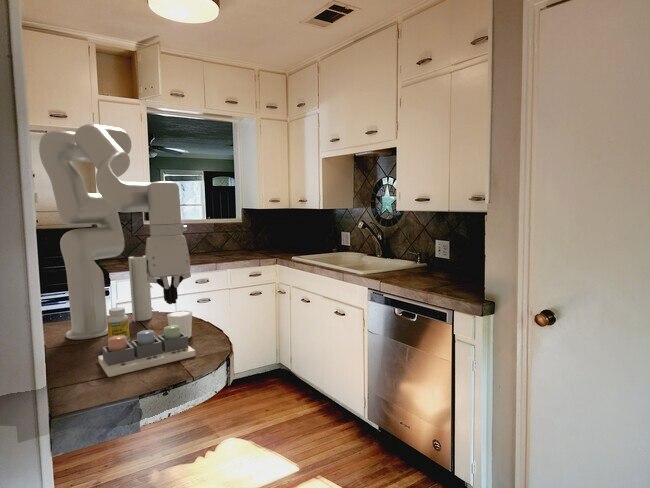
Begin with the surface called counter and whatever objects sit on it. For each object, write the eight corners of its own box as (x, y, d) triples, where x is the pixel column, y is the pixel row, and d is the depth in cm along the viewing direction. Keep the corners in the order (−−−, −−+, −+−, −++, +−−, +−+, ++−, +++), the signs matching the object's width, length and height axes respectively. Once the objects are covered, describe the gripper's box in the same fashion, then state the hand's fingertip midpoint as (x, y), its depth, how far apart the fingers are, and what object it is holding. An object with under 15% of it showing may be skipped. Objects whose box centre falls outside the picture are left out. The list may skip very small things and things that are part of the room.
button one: (107, 351, 104) (106, 337, 103) (125, 348, 106) (124, 334, 106) (110, 356, 100) (109, 341, 100) (129, 352, 103) (128, 338, 102)
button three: (162, 340, 111) (161, 327, 111) (178, 337, 114) (177, 324, 113) (167, 344, 108) (166, 330, 108) (183, 340, 111) (182, 327, 110)
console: (98, 361, 106) (97, 344, 106) (179, 344, 118) (178, 328, 118) (108, 377, 97) (106, 357, 96) (195, 356, 109) (194, 338, 108)
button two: (136, 345, 108) (135, 332, 107) (152, 342, 110) (151, 329, 110) (140, 350, 104) (139, 336, 104) (157, 346, 107) (156, 332, 106)
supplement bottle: (128, 338, 125) (125, 305, 124) (131, 342, 120) (129, 309, 119) (107, 341, 122) (105, 308, 121) (110, 346, 117) (107, 312, 116)
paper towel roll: (146, 315, 149) (142, 254, 147) (155, 318, 145) (151, 255, 143) (126, 320, 143) (121, 257, 141) (134, 323, 140) (130, 258, 137)
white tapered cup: (197, 333, 128) (195, 310, 127) (187, 341, 121) (186, 316, 120) (174, 333, 128) (173, 310, 128) (164, 340, 121) (162, 316, 121)
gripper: (190, 229, 116) (194, 296, 117) (130, 232, 107) (136, 305, 108) (200, 229, 110) (205, 300, 111) (138, 234, 101) (144, 311, 102)
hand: (171, 302), depth 110 cm, fingers closed
